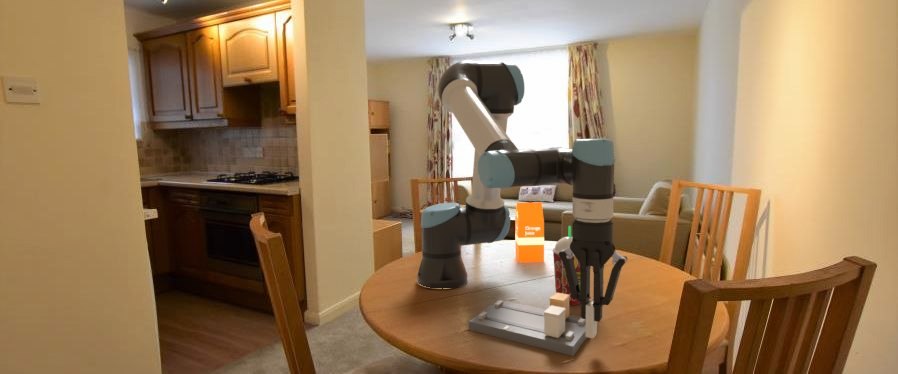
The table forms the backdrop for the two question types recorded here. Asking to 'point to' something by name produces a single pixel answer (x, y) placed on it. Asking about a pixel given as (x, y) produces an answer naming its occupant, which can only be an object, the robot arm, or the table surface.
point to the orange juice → (529, 232)
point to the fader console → (528, 327)
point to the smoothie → (559, 268)
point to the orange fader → (561, 301)
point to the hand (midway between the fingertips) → (591, 335)
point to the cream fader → (554, 321)
